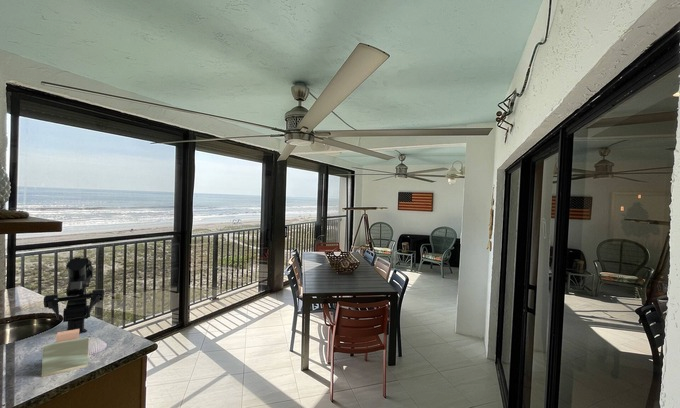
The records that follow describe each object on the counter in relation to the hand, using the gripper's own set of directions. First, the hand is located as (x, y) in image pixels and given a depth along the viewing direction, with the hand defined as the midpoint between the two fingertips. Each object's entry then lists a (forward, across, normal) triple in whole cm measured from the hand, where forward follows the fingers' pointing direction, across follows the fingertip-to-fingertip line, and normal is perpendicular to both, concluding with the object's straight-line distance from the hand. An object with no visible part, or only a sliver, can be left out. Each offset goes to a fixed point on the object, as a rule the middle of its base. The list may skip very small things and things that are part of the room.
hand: (73, 316), depth 119 cm
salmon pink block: (+19, -1, -1) cm, 19 cm away
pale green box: (+19, -1, 0) cm, 19 cm away
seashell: (+12, +6, +8) cm, 16 cm away
